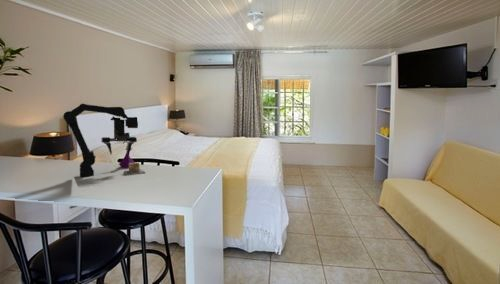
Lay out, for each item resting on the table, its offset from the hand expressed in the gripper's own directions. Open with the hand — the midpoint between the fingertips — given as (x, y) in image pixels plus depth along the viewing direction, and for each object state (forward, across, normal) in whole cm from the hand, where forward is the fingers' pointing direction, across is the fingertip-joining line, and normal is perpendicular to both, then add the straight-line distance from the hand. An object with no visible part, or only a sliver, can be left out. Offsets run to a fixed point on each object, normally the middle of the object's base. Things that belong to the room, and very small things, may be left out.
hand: (119, 154), depth 176 cm
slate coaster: (+11, +8, -4) cm, 14 cm away
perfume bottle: (+12, +7, +15) cm, 21 cm away
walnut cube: (+10, +8, -4) cm, 13 cm away
